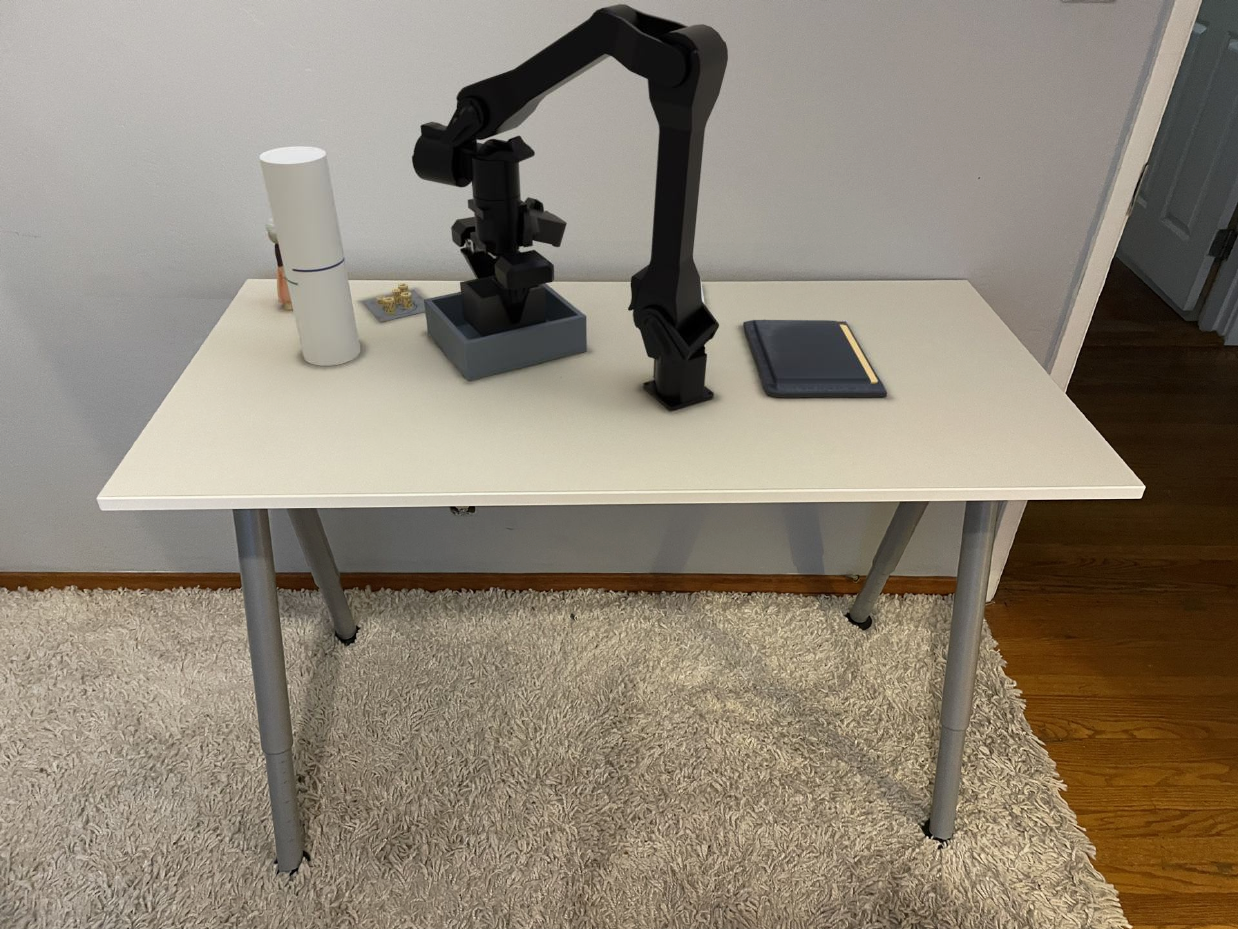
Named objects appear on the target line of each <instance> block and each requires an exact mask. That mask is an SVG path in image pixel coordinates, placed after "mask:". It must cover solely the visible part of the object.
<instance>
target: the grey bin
mask: <svg viewBox="0 0 1238 929" xmlns="http://www.w3.org/2000/svg"><path fill="white" fill-rule="evenodd" d="M542 285H543V286H544V287H545V298H546V323H542V324H538V325H533V326H529V327H525V328H520V329H516V330H512V331H507V332H503V333H499V334H494V335H490V336H485V337H482V336H481V335H480V334H479V333H478V332H477V331H476V330H475V329H474V328H473V327H472V326H471V325H470V324H469V323H468V322H467V321H466V320H465V319H464V318H463V309H462V299H461V291H458V292H453V293H448V294H444V295H443V294H442V295H438V296H432V297H429V298H423V299H424V305H425V312H424V313H425V320H426V328H427V335H428V336H429V337H430V338H431V339H432V340H433V342H434V343H435V345H437V346H438V347H439V349H440V350H441V351H442V352H443V353H444V354H445V355H446V357H447V358H448V359H449V360H450V361H451V362H452V364H453V365H454V366H455V368H456V369H458V371H459V372H460V373H461V375H463V376H464V378H465V379H466V380H467V381H468V382H471V381H474V380H478V379H482V378H486V377H490V376H494V375H498V374H503V373H507V372H510V371H515V370H518V369H522V368H527V367H530V366H534V365H538V364H542V363H545V362H550V361H554V360H558V359H561V358H566V357H570V356H574V355H579V354H583V353H586V352H587V350H588V348H587V315H586V314H585V313H583V312H582V311H581V310H579V309H578V308H577V307H576V306H574V305H573V304H572V303H571V302H570V301H568V300H567V299H566V298H564V297H563V296H562V295H561V294H559V292H557V291H556V290H554V289H553V287H551V286H549V285H548V283H545V284H542Z"/></svg>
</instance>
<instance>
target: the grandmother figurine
mask: <svg viewBox="0 0 1238 929" xmlns="http://www.w3.org/2000/svg"><path fill="white" fill-rule="evenodd" d="M265 229H266V231H267V237H268V239H269V240H270V241H271V242H272V243H273V244H274V255H275V259H276V265H277V268H276V292H277V300H278V302H279V303H280V304H282V303H284V304H283V309H284V310H286V311H293V307H292V302H291V298H290V293H289V289H288V284H287V280H286V275H285V271H284V266H283V262H282V257H281V253H280V248H279V244H278V239H277V235H276V230H275V226H274V221H273V217H272V216H271V217H269V218H268V219H267V220H266V222H265Z"/></svg>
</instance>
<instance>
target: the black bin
mask: <svg viewBox="0 0 1238 929" xmlns="http://www.w3.org/2000/svg"><path fill="white" fill-rule="evenodd" d="M494 277H496V275H493V276H488V277H483V278H478V279H476V278H474V279H469V280H464V281H463V280H462V281H460V282H459V286H460V288H459V289H460V292H461V299H462V309H463V318H464V319H465V320H466V321H467V322H468V323H469V324H470V325H471V326H472V327H473V328H474V329H475V330H476V331H477V332H478V333H479V334H480V335H481V336H482V337H485V336H490V335H494V334H499V333H503V332H507V331H512V330H516V329H520V328H525V327H529V326H533V325H538V324H542V323H546V298H545V287H544V286H543V285H542V284H540V285H535V286H532V287H531V289H530V291H529V294H528V296H527V299H526V303H525V306H524V310H523V313H522V317H521V320H520V322H519V323H517V324H512V323H511V322H510V320H509V318H508V316H507V313H506V311H505V309H504V306H503V304H502V302H501V299H500V297H499V295H498V292H497V290H496V288H495V285H494V283H493V281H492V278H494Z"/></svg>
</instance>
